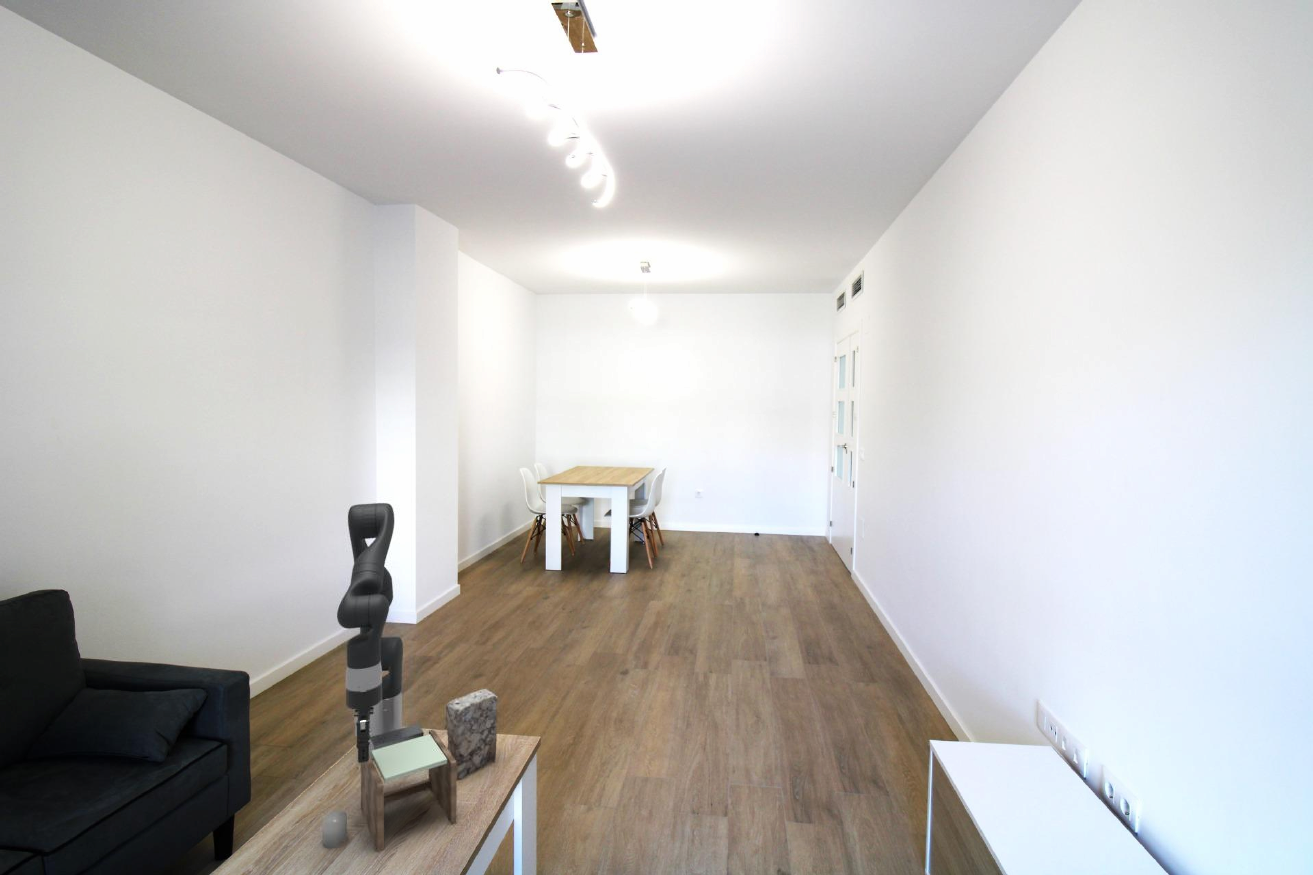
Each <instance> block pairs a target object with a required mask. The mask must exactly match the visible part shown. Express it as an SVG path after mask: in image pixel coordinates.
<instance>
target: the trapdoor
mask: <svg viewBox="0 0 1313 875" xmlns="http://www.w3.org/2000/svg"><path fill="white" fill-rule="evenodd" d="M424 733H425V732H424V730H423V729H422V728H421V726H420V725H419V724H418V723H416V724H413V725H410V726H406V727H402V729H398V730H394V731H391V732H387V733H383V734H380V735H376V736H372V737H370V751H371V755H372V757H373V759H372V760H373V761H374V763H375V765H376V766H375V767H376V769H378V770H377V771H379V772H378V773H379V775H380V776H381V778H382V781H383V783H384V784H386V783H389V782H392V781H396V780H398V779H402V778H405V777H407V776H411V775H414V774H417V773H422V772H424V771H427V770H428V771H429V769H431V768H434V767H437V766H440V765H443V764H447V758H446V757H445V756H444V754H443V753H442V751H441V750H440V748H439V747H438V745H437V744H436V742H435V741H434V740H433V738H432V737H431V735H430V734H429V733H428V734H426V735H424Z"/></svg>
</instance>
